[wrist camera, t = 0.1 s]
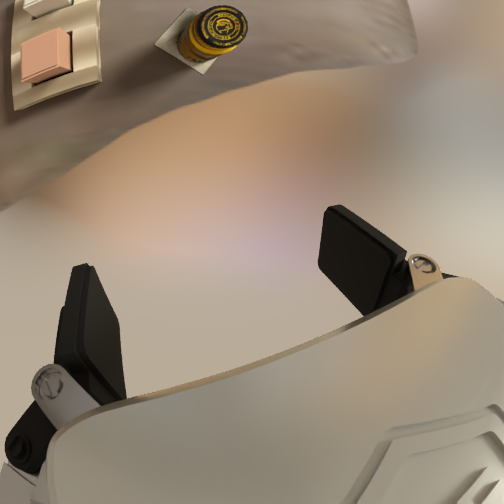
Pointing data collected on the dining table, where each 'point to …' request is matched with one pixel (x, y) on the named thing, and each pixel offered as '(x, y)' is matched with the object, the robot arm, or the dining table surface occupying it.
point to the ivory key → (45, 6)
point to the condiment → (204, 35)
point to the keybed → (84, 49)
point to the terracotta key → (46, 56)
